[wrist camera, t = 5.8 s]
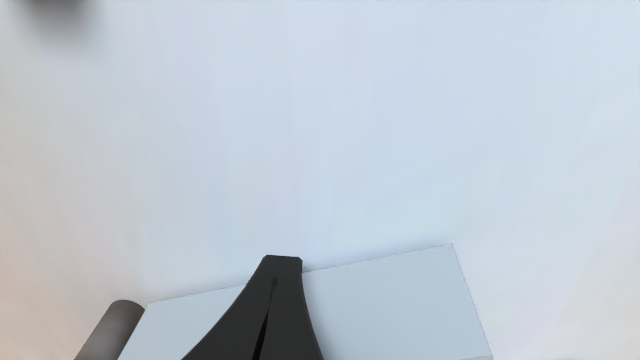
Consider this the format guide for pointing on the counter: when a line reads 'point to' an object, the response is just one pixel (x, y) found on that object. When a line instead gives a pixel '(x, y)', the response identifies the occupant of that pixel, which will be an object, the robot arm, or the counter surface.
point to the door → (346, 312)
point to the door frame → (112, 332)
